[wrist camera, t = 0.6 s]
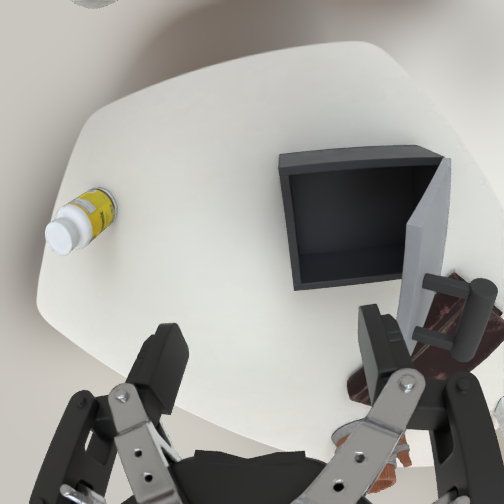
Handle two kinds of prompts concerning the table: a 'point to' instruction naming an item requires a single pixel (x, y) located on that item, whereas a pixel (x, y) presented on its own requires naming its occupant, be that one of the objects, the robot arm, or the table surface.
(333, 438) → the mug
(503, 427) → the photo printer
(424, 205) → the lid
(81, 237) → the supplement bottle
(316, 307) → the table surface
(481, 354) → the diary
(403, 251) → the dark grey open box
